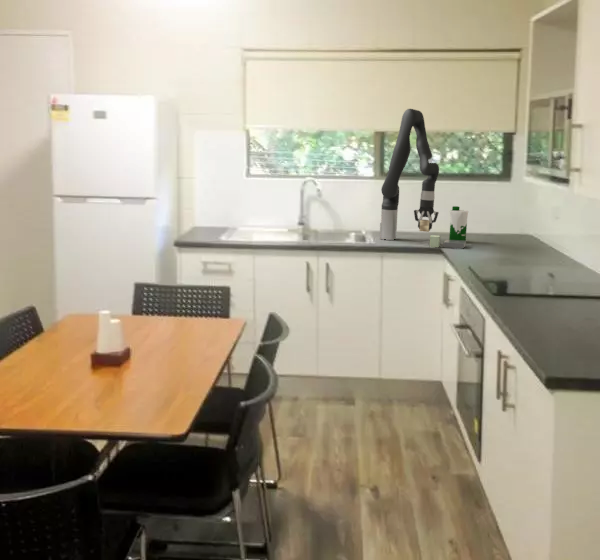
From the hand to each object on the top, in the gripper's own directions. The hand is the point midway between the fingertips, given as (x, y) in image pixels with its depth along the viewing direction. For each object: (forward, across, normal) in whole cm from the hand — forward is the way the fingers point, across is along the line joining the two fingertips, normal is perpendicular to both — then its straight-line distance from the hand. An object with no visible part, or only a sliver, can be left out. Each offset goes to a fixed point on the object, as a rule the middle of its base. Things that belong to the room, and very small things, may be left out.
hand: (424, 229), depth 471 cm
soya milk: (+8, +16, +17) cm, 25 cm away
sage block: (+8, +8, -8) cm, 14 cm away
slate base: (+8, +18, -3) cm, 20 cm away
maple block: (+1, 0, 0) cm, 1 cm away
